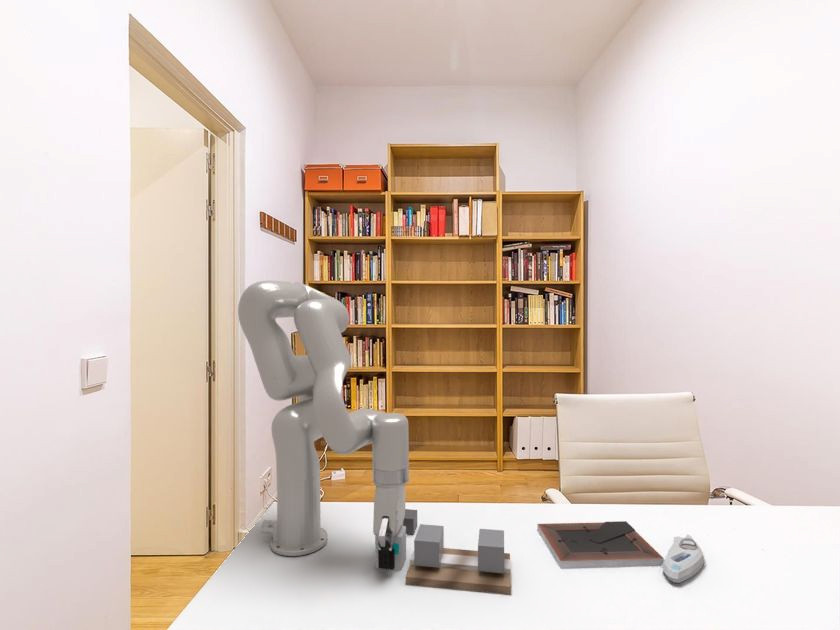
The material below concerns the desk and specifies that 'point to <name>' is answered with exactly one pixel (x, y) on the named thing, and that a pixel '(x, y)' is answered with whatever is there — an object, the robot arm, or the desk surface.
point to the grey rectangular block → (410, 521)
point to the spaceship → (683, 559)
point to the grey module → (399, 548)
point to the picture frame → (598, 545)
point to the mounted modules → (432, 547)
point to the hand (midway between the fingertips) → (391, 556)
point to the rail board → (460, 573)
